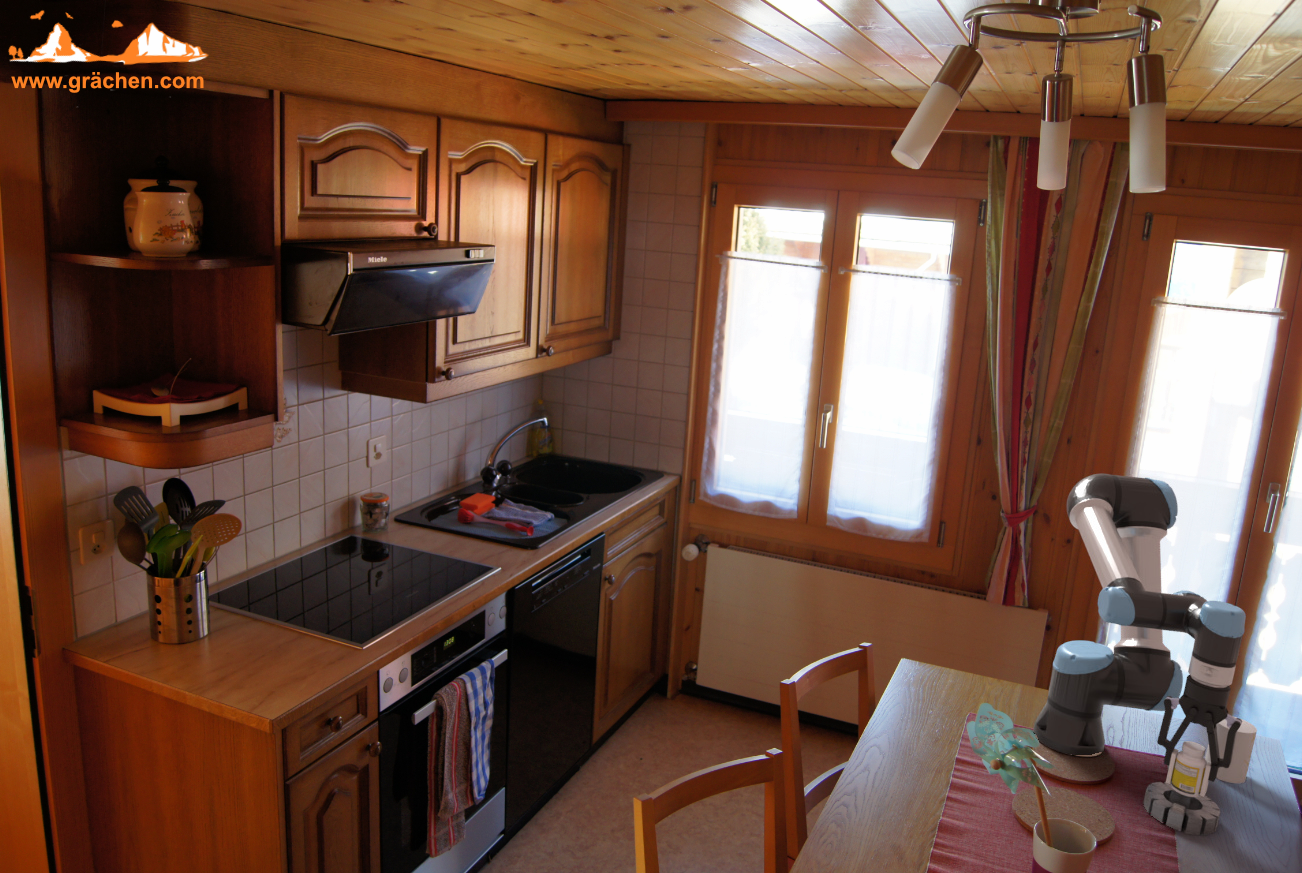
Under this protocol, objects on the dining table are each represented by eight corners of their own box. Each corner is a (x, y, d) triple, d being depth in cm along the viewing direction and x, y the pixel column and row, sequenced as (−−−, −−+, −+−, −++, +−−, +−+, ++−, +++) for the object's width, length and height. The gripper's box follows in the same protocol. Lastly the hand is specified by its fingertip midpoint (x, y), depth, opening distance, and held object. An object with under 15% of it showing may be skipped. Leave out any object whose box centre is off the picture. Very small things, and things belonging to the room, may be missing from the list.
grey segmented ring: (1137, 814, 189) (1141, 796, 188) (1151, 789, 199) (1155, 772, 198) (1210, 843, 181) (1214, 824, 180) (1221, 816, 191) (1225, 798, 190)
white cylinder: (1251, 786, 204) (1263, 736, 202) (1211, 779, 206) (1222, 729, 203) (1236, 767, 212) (1247, 718, 210) (1197, 760, 213) (1208, 712, 211)
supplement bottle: (1187, 782, 192) (1196, 739, 190) (1206, 797, 186) (1216, 753, 185) (1163, 783, 191) (1173, 739, 189) (1183, 798, 185) (1192, 753, 184)
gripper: (1153, 669, 187) (1132, 775, 191) (1261, 702, 176) (1235, 814, 180) (1161, 659, 193) (1140, 762, 197) (1266, 690, 181) (1241, 799, 186)
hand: (1185, 786), depth 188 cm, fingers closed on supplement bottle, 5 cm apart
